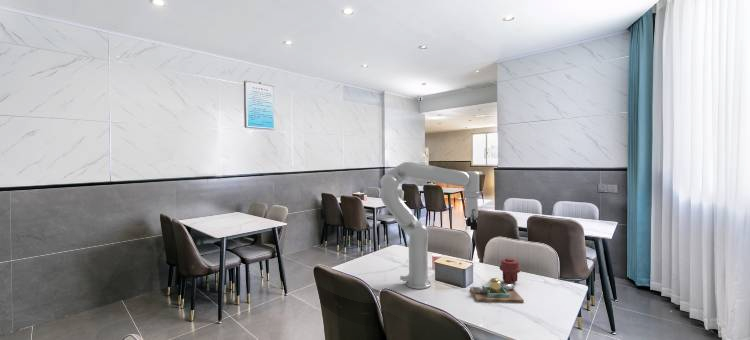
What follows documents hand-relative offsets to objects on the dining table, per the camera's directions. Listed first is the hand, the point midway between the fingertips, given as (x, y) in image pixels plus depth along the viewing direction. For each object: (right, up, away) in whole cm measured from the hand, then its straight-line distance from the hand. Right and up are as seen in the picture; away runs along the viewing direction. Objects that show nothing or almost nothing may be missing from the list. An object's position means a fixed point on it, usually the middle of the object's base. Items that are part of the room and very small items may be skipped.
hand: (471, 228), depth 166 cm
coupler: (+6, -27, -17) cm, 33 cm away
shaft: (+13, -28, -14) cm, 34 cm away
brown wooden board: (+6, -28, -18) cm, 34 cm away
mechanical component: (+19, -28, -2) cm, 34 cm away
